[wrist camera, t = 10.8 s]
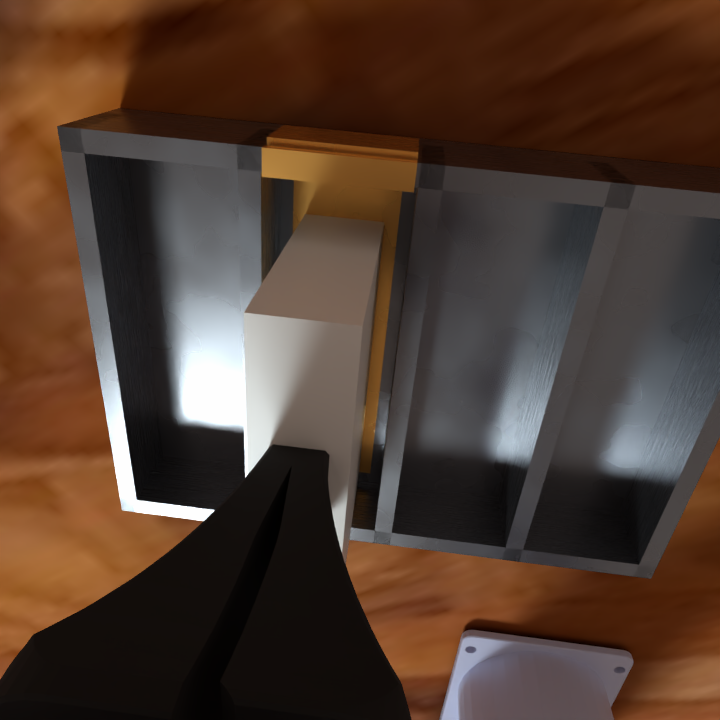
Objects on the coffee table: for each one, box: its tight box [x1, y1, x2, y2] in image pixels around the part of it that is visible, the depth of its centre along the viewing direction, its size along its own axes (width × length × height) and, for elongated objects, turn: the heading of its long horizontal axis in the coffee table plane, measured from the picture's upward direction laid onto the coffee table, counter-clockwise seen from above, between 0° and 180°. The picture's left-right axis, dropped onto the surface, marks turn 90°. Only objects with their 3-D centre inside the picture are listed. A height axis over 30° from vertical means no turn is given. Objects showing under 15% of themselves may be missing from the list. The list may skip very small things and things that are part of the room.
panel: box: [244, 214, 384, 565], centre depth 17 cm, size 10×2×7 cm, turn 176°
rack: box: [57, 108, 720, 579], centre depth 19 cm, size 13×19×4 cm
